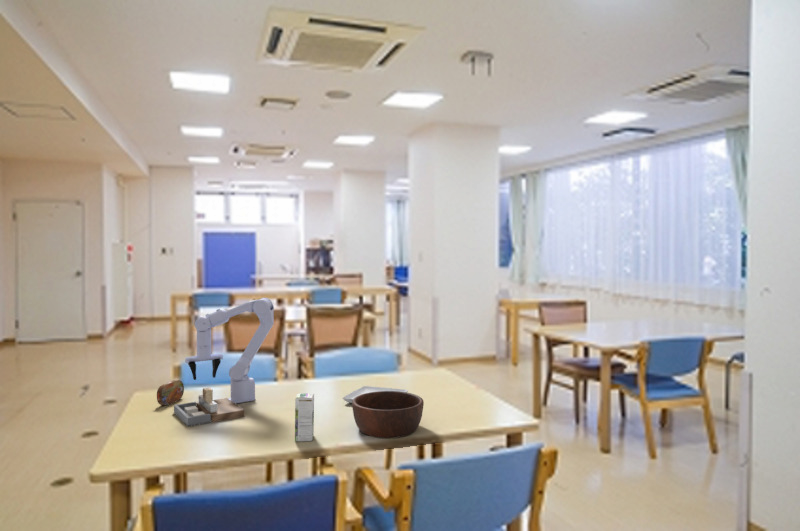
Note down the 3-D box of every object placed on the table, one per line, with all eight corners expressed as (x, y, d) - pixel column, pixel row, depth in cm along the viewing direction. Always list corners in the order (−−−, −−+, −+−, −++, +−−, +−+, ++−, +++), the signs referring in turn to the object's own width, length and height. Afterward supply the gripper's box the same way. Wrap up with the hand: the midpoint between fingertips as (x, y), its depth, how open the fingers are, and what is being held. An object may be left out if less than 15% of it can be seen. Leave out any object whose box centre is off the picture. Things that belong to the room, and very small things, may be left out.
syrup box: (296, 435, 179) (296, 393, 179) (314, 435, 180) (314, 392, 180) (294, 441, 174) (294, 397, 173) (313, 441, 174) (312, 397, 174)
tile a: (195, 410, 206) (195, 405, 206) (197, 413, 203) (197, 408, 203) (184, 412, 204) (184, 407, 204) (187, 415, 200) (186, 410, 200)
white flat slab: (204, 402, 210) (204, 384, 209) (217, 411, 197) (217, 393, 196) (198, 403, 208) (198, 385, 208) (210, 413, 195) (210, 394, 195)
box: (195, 409, 209) (195, 401, 209) (210, 422, 193) (210, 414, 193) (174, 412, 205) (173, 405, 205) (187, 426, 189) (187, 418, 189)
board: (226, 404, 217) (226, 397, 217) (244, 416, 201) (244, 409, 200) (196, 409, 210) (196, 402, 210) (211, 422, 193) (211, 415, 193)
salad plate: (341, 405, 216) (341, 396, 216) (364, 392, 236) (364, 384, 236) (389, 411, 208) (389, 402, 208) (408, 397, 228) (408, 389, 228)
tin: (162, 408, 211) (162, 386, 211) (155, 407, 212) (154, 386, 212) (184, 397, 226) (184, 378, 226) (178, 397, 227) (177, 377, 227)
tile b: (202, 416, 199) (202, 411, 199) (205, 419, 196) (205, 413, 196) (191, 418, 197) (191, 413, 196) (194, 421, 193) (194, 415, 193)
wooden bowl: (429, 420, 196) (429, 392, 196) (415, 444, 172) (416, 412, 172) (364, 415, 202) (364, 388, 202) (342, 438, 177) (342, 407, 177)
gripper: (187, 348, 213) (187, 382, 214) (224, 345, 221) (224, 378, 222) (184, 346, 219) (184, 378, 220) (220, 342, 227) (220, 374, 227)
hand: (204, 378), depth 221 cm, fingers open, 7 cm apart
